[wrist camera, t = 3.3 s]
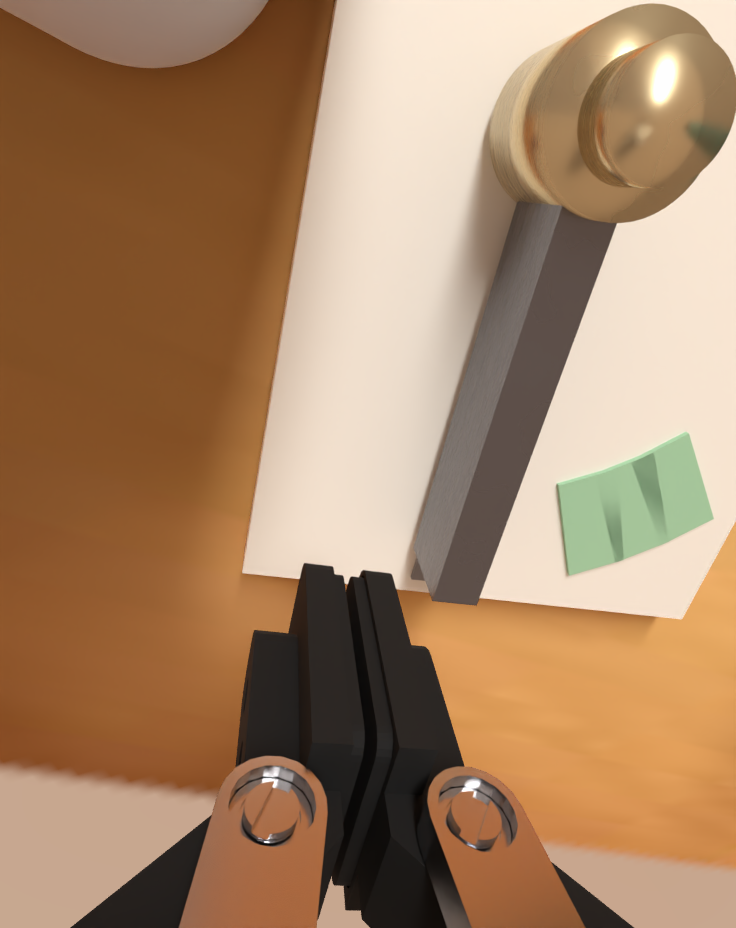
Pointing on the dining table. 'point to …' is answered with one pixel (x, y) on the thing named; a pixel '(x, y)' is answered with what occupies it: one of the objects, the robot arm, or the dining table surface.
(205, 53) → the plastic bottle
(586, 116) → the lever
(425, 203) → the dial plate
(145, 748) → the dining table surface
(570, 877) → the robot arm
